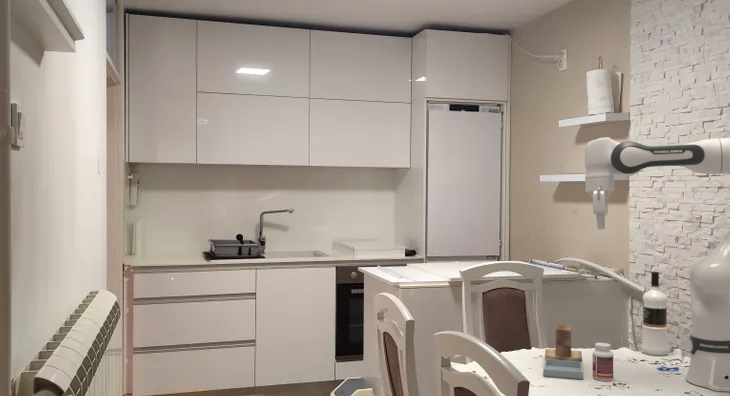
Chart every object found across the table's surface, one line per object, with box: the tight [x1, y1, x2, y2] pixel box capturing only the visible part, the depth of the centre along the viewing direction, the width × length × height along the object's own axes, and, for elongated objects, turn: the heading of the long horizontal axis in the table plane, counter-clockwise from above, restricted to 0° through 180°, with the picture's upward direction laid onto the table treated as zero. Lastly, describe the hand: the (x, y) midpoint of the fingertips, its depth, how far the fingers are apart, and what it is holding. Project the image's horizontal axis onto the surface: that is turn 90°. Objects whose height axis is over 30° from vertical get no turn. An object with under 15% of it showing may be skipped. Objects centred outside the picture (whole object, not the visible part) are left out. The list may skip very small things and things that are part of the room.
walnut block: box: [555, 323, 572, 357], centre depth 218 cm, size 5×9×9 cm, turn 162°
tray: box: [543, 358, 584, 381], centre depth 206 cm, size 12×13×2 cm
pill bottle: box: [592, 342, 614, 382], centre depth 200 cm, size 6×6×11 cm
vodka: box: [640, 271, 669, 357], centre depth 232 cm, size 9×9×30 cm
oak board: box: [544, 348, 583, 363], centre depth 218 cm, size 12×10×4 cm
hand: (601, 229), depth 206 cm, fingers open, 8 cm apart
